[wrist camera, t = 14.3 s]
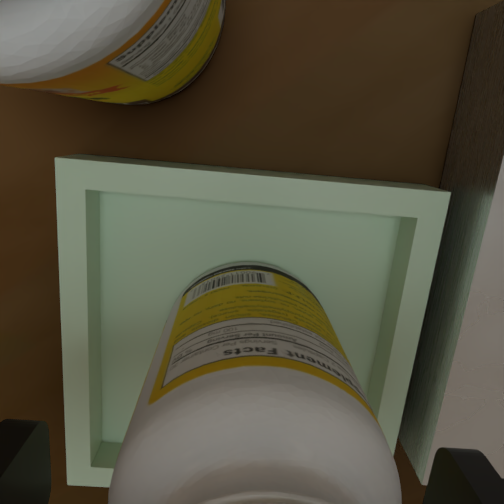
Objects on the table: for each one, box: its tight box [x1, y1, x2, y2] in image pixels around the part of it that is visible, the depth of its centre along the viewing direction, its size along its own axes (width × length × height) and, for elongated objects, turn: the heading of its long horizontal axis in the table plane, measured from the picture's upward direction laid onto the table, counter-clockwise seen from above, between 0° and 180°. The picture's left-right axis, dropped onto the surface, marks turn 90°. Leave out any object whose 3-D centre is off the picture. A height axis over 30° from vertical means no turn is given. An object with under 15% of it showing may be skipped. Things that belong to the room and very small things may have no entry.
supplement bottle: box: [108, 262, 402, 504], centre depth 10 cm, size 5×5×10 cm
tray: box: [55, 154, 451, 487], centre depth 14 cm, size 11×11×2 cm
